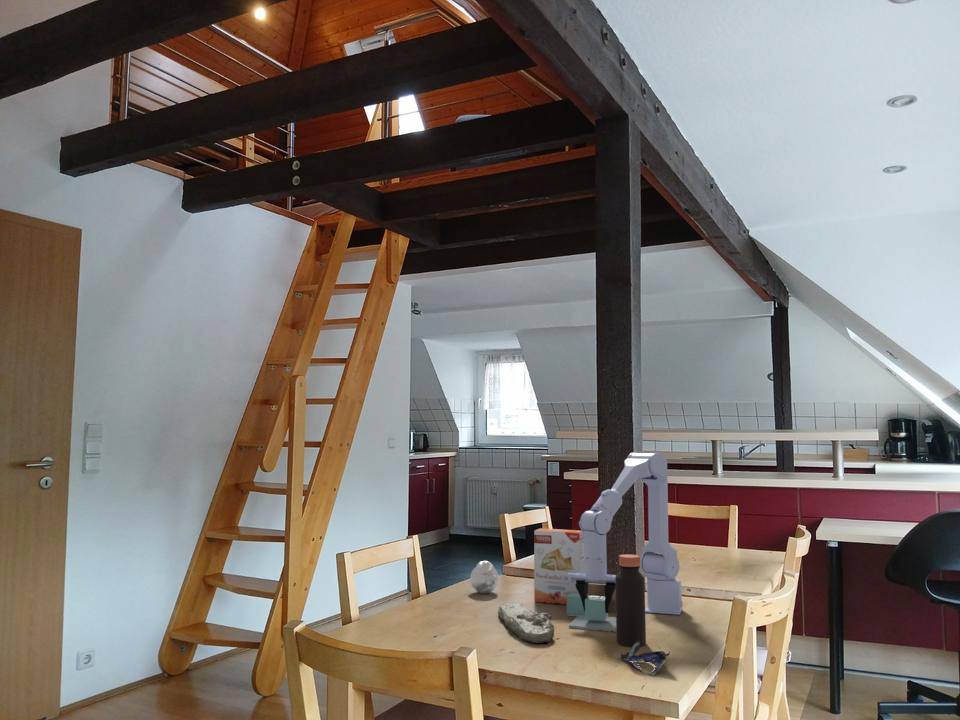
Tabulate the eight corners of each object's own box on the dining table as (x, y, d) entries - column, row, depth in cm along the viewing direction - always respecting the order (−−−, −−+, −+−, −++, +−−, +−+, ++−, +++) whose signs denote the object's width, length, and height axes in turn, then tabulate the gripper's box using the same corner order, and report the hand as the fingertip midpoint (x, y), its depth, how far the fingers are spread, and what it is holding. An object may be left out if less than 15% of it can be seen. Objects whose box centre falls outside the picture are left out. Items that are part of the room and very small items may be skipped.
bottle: (625, 637, 179) (623, 552, 181) (651, 642, 174) (649, 555, 176) (611, 643, 173) (609, 556, 176) (637, 648, 169) (635, 559, 171)
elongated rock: (526, 616, 207) (491, 620, 205) (524, 597, 208) (489, 600, 206) (564, 642, 173) (523, 647, 171) (562, 619, 174) (521, 623, 172)
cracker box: (533, 602, 217) (533, 529, 219) (539, 598, 223) (539, 527, 225) (580, 606, 212) (579, 532, 214) (585, 602, 217) (584, 529, 220)
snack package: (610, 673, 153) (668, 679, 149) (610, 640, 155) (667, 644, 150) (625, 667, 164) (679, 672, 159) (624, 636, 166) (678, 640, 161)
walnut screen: (628, 610, 207) (628, 584, 208) (626, 613, 203) (625, 587, 204) (582, 606, 211) (582, 581, 212) (579, 609, 208) (579, 584, 208)
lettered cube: (608, 616, 193) (607, 595, 194) (604, 620, 189) (604, 599, 189) (589, 615, 195) (588, 594, 196) (585, 619, 190) (584, 598, 191)
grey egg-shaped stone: (466, 595, 227) (466, 562, 228) (473, 589, 236) (473, 557, 237) (495, 597, 225) (495, 563, 226) (501, 591, 234) (501, 558, 235)
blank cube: (588, 612, 205) (588, 594, 205) (585, 616, 200) (584, 597, 201) (571, 611, 206) (570, 592, 207) (567, 615, 202) (566, 596, 202)
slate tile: (623, 620, 195) (623, 618, 195) (616, 631, 184) (616, 629, 184) (578, 617, 199) (578, 614, 199) (568, 627, 188) (568, 625, 188)
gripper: (564, 558, 192) (565, 612, 191) (621, 561, 187) (622, 617, 186) (570, 554, 199) (571, 606, 197) (625, 557, 194) (626, 611, 192)
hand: (596, 611), depth 192 cm, fingers closed on lettered cube, 5 cm apart
